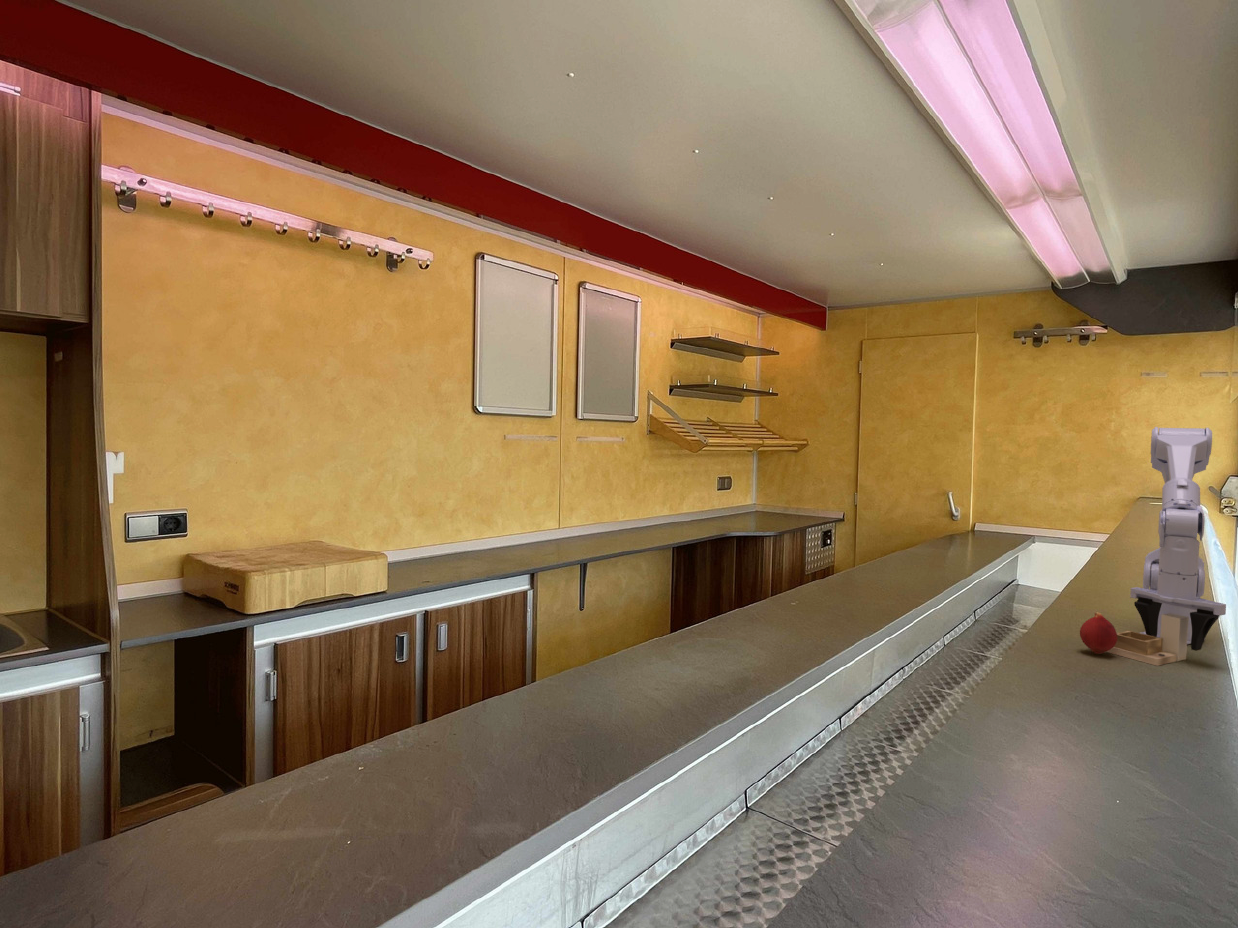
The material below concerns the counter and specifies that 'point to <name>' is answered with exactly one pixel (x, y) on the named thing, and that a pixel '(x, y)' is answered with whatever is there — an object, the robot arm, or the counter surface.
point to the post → (1174, 634)
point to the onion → (1098, 634)
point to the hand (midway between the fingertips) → (1173, 643)
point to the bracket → (1141, 648)
